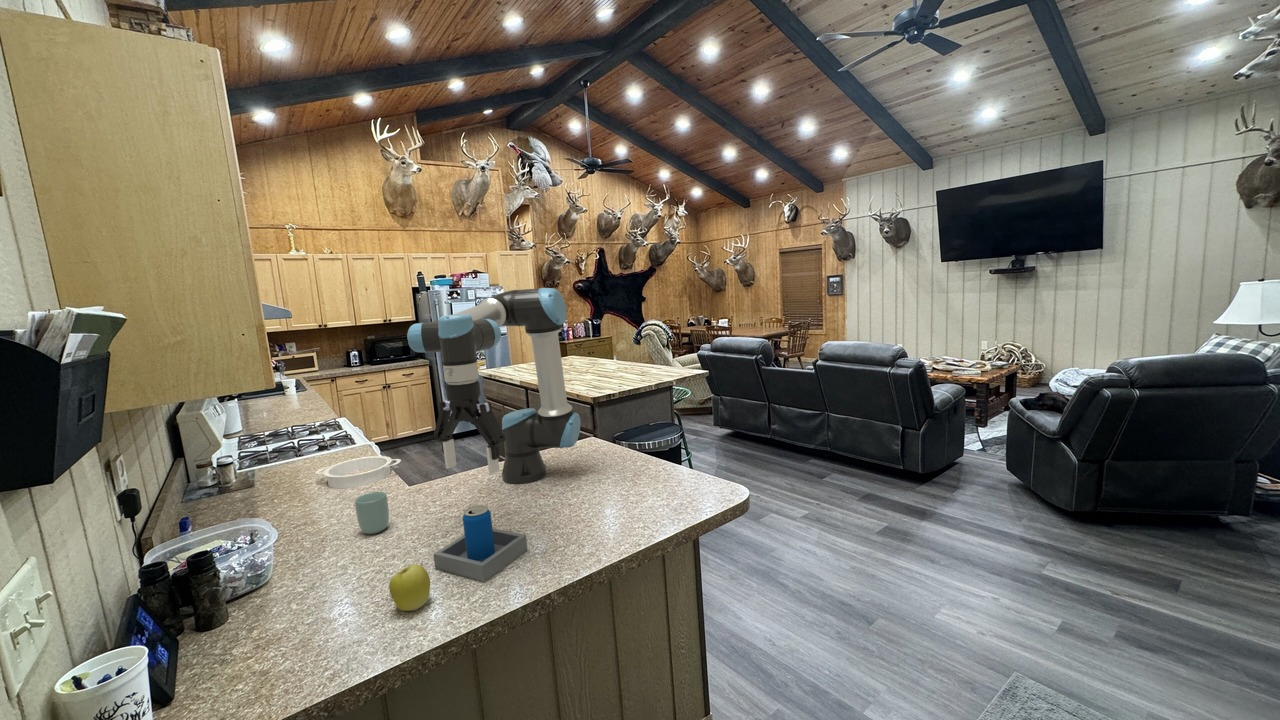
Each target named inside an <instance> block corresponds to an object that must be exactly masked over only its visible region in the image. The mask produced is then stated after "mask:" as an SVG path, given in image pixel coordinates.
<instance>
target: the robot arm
mask: <svg viewBox="0 0 1280 720" xmlns="http://www.w3.org/2000/svg"><path fill="white" fill-rule="evenodd" d="M567 313H568V312H567V306H566V302H565V300H564V297H563V295H562V294H561V292H560V291H559V290H557V289H556V288H553V287H552V288H551V287H539V288H538V287H537V288H526V289H524V288H523V289H513V290H511V289H510V290H508V291H503V292H500V293H498V294H495V295H492V296H490V297H487V298H485V299H482V300H481V301H480V302H479V304H478V305H474V306H472V307H469V308H466V309H464V310H460V311H459V312H455V313H453V314H451V315H442V316H441V317H439V318H438V319H437V320H433V321H431V322H430V321H429V322H419V323H414V324H412V325H411V326H409V328H408V330H407V333H406V337H407V343H408V346H409V348H410V349H411V350H412V351H414V352H415V353H425V354H429V353H441V358H442V369H443V377H444V382H445V383H446V385H445V386H444V387H445V388H444V389H445V395H446V399H447V400H443V401H440V402H439V411H438V416H437V420H436V425H435V427H434V432H433V438H434V439H438V440H439V442H441V450H442V454H443V456H444V464H445V469H450V468H453V467H455V466H457V458H456V450H455V449H456V448H455V442H454V441H455V439H454V438H453V434H454V432H455V430H456V428H457V427H458V425H459V423H460V422H466V423H470V424H471V425H473V426H474V427H475V428H476V430H477V431H478V433H479V434H480V435H481V436H482V438H483V440H485V442H486V443H487V446H486V448H485V449H486V457H487V467H488V475H494V474H496V473H497V472H500V461H499V459H500V455H501V453H500V444H502V443H503V444H504V445H503V446H504V455H505V459H504V462H503V467H502V471H501V479H502V481H503V482H505V483H507V484H513V485H514V484H516V485H519V484H520V485H521V484H527V483H532V482H536V481H539V480H541V479H542V478H544V477H545V476H546V475H547V473H548V472H547V466H546V464H545V463H544V460H543V458H542V454H541V452H540V448H541V449H547V448H548V449H554V448H555V449H566V448H572V447H574V446H575V445H576V443H577V441H578V439H579V436H580V431H581V416H580V414H579V413H577V412H574V411H573V410H574V409H573V405H571V404H570V403H568V399H567V391H566V384H565V378H564V369H563V363H562V362H563V360H562V354H561V348H560V347H561V346H560V341H559V333H560V332H561V331H562V330H563V327H562V325H563V324H565V323H566V321H567ZM500 327H501V328H503V327H524V330H525V334H526V335H528V336H529V337H530V338H531V345H532V351H533V357H534V365H535V371H536V378H537V387H538V392H539V397H540V398H539V399H540V408H539V409H538V410H536V408H533V407H532V408H531V407H530V408H529V407H528V408H522V409H518V410H514V411H510V412H508V413H507V414H504V416H503V417H502V419H501V424H502V425H501V426H502V427H501V426H500V424H499V422H498V421H497V418H496V416H495V415H494V414H495V413H493V412H494V411H493V410H492V409H493V408H492V403H491V402H490V401H487V402H484V403H481V402H480V396H481V395H482V394H481V386H480V385H481V384H480V381H479V380H478V379H479V377H480V376H479V367H478V360H477V352H480V351H481V352H482V351H487V350H490V349H491V348H494V347H495V346H497V345H498V343H500V341H501V338H502V330H501V328H500Z"/></svg>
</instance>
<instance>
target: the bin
mask: <svg viewBox="0 0 1280 720" xmlns="http://www.w3.org/2000/svg"><path fill="white" fill-rule="evenodd" d="M492 529H493V538H494V547H495V553H494V554H493V555H492V556H490V557H489V558H487V559H486V560H485V561H483V562H479V561H475V560H471V559H468V558H467V551H466V543H465V534H464V535H462V536H460V537H458V538H457V539H456V540H453V541H452V542H450V543H449V544H447V545H445V546H444V547H443V548H440V549H439V550H438V551H435V552H433V562H434V569H435V570H436V571H438V570H439V571H438V572H442V571H443V572H442V573H446V572H447V574H451V575H455V576H458V577H462V578H466V579H470V580H473V581H476V582H480V583H486V582H487V581H489V580H490V579H491V578H493V577H494V576H495V575H496V574H498V573H499V572H501V571H502V570H503V569H504V568H505V567H507V566H508V565H510V564H511V563H512V562H514V561H515V560H516V559H517V558H519V557H521V555H523V554H524V553H526V552H527V551H528V542H527V535H526V534H524V533H523V534H522V533H517V532H512V531H507V530H503V529H498V528H494V527H492Z"/></svg>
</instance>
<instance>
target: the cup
mask: <svg viewBox="0 0 1280 720" xmlns="http://www.w3.org/2000/svg"><path fill="white" fill-rule="evenodd" d="M354 507H355V513H356V518H357V519H356V520H357V523H358V527H359V529H360V530H361V531H362V532H363V533H364V534H367V535H374V534H378V533H381V532H383V531H384V530H385V529H386V528H387V527H388V525H389V521H390V509H389V501H388V496H387V493H386V492H385V491H371V492H367V493H364V494H362V495H359V496H357V498H355V499H354Z"/></svg>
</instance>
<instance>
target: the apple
mask: <svg viewBox="0 0 1280 720" xmlns="http://www.w3.org/2000/svg"><path fill="white" fill-rule="evenodd" d="M388 589H389V594H390V597H391V598H392V601H393V603H394V604H395V606H396V607H397V608H398V609H399V610H400V611H402V612H411V611H416V610H419V609H420V608H421V607H423V606H424V605H425V604H426V602H427V601H428V599H429V597H430V592H431V578H430V576H429V573H428V571H427V569H425V567H424V566H422V565H420V564H412V565H409V566H405V567H404V568H403V569H401V570H400V571H398V572H396V574H394V575H393V576H392V577H391V578H390V580H389V585H388Z"/></svg>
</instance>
